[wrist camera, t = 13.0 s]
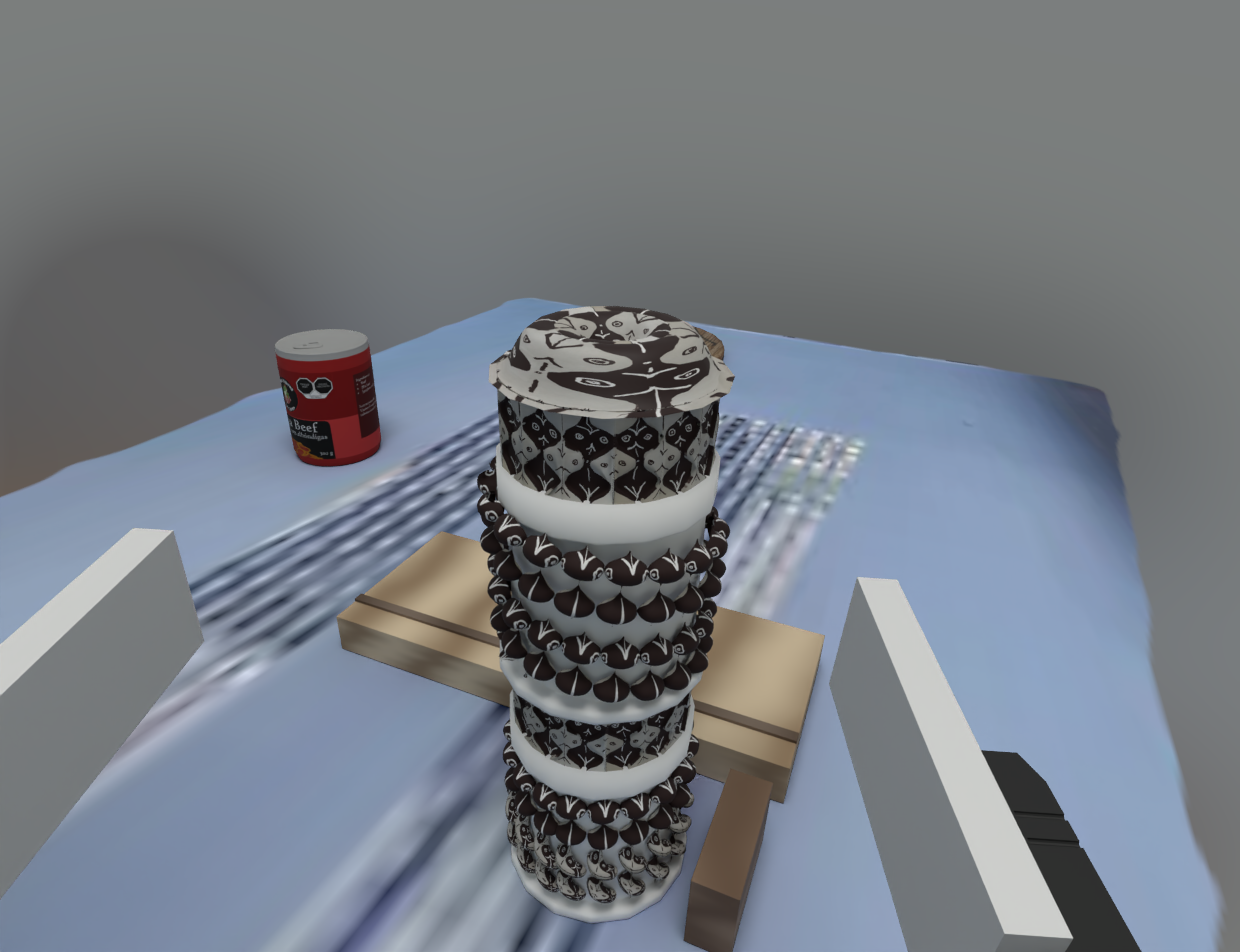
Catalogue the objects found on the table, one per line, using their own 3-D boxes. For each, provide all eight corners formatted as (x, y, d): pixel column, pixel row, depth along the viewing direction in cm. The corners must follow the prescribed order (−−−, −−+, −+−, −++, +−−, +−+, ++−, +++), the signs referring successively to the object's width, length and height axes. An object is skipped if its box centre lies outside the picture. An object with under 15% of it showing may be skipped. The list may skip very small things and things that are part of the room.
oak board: (342, 648, 46) (335, 614, 45) (443, 559, 55) (440, 529, 54) (783, 803, 37) (790, 765, 36) (818, 666, 46) (825, 633, 45)
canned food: (282, 448, 71) (260, 338, 66) (360, 427, 76) (345, 323, 71) (316, 476, 67) (295, 360, 61) (396, 452, 72) (383, 342, 66)
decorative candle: (484, 784, 38) (444, 298, 26) (651, 741, 40) (683, 285, 29) (524, 962, 30) (493, 386, 18) (727, 893, 33) (810, 357, 21)
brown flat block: (683, 940, 31) (691, 880, 29) (722, 825, 36) (730, 768, 34) (729, 960, 30) (740, 900, 28) (762, 840, 35) (772, 783, 33)
